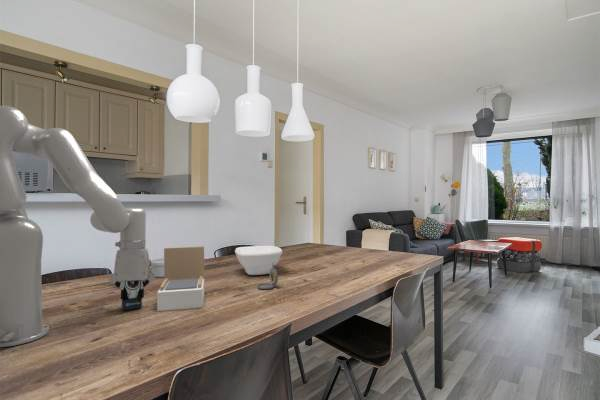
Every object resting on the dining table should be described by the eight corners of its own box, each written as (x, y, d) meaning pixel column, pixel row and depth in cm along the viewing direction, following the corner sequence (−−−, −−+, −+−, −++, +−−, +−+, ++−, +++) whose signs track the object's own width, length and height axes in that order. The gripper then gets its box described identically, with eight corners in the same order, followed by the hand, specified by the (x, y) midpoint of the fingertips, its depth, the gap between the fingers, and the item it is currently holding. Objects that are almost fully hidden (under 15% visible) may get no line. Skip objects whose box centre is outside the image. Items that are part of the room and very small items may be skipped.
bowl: (237, 281, 144) (237, 254, 144) (233, 270, 165) (233, 246, 165) (286, 277, 150) (286, 252, 150) (276, 267, 171) (276, 244, 171)
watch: (123, 312, 104) (123, 277, 104) (121, 304, 111) (121, 272, 111) (142, 309, 107) (143, 275, 107) (139, 302, 114) (140, 270, 114)
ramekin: (166, 270, 165) (166, 256, 165) (186, 273, 159) (186, 258, 159) (143, 276, 153) (143, 261, 153) (164, 279, 147) (164, 263, 147)
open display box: (202, 307, 110) (202, 253, 110) (157, 311, 107) (156, 255, 106) (204, 293, 126) (204, 246, 125) (165, 296, 122) (164, 247, 122)
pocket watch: (254, 288, 132) (254, 263, 132) (265, 283, 139) (265, 260, 139) (271, 291, 128) (271, 265, 128) (282, 286, 135) (282, 262, 135)
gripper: (100, 247, 103) (100, 306, 103) (158, 246, 107) (157, 302, 107) (108, 244, 111) (108, 299, 111) (161, 243, 115) (161, 295, 115)
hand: (132, 300), depth 109 cm, fingers closed on watch, 3 cm apart
